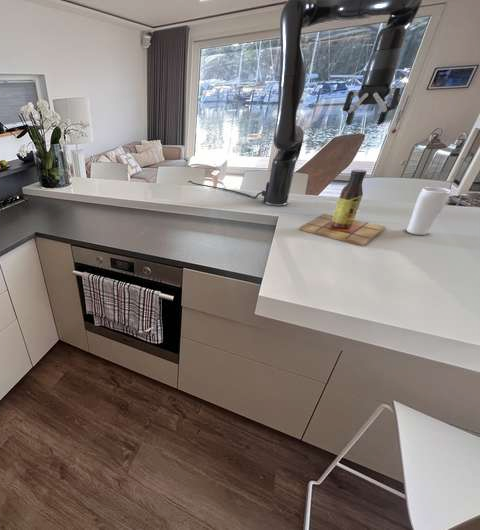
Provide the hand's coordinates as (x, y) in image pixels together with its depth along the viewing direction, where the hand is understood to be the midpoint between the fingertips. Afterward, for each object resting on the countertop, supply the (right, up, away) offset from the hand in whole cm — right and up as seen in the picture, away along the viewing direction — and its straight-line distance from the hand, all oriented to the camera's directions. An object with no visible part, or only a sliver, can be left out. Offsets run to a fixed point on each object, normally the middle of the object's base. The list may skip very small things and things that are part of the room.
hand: (363, 124), depth 98 cm
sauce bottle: (-2, -34, +7) cm, 35 cm away
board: (-2, -35, +7) cm, 36 cm away
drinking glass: (+19, -37, +1) cm, 42 cm away
